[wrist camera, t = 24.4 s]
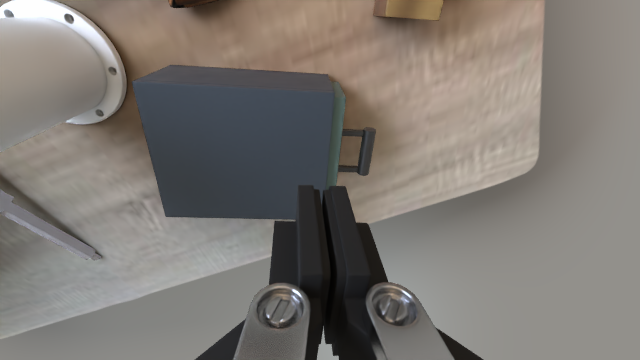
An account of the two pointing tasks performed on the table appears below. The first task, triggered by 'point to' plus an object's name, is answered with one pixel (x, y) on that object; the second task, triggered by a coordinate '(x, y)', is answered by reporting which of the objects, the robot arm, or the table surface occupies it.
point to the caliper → (44, 228)
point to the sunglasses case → (188, 3)
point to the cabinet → (235, 139)
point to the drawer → (338, 132)
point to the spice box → (409, 9)
